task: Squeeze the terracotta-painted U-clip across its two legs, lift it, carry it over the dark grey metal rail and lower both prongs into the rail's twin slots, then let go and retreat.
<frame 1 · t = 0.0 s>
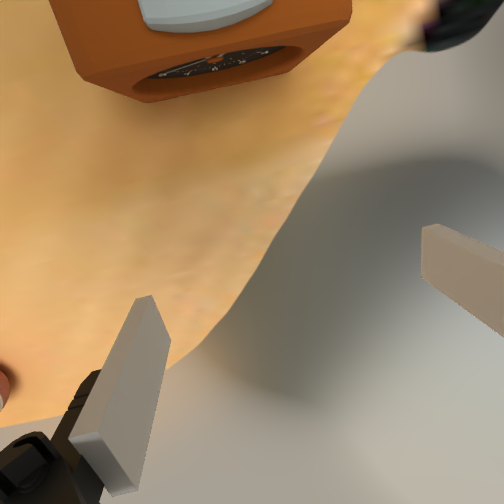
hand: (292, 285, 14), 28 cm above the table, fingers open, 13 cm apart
alarm clock: (208, 46, 33), on the table
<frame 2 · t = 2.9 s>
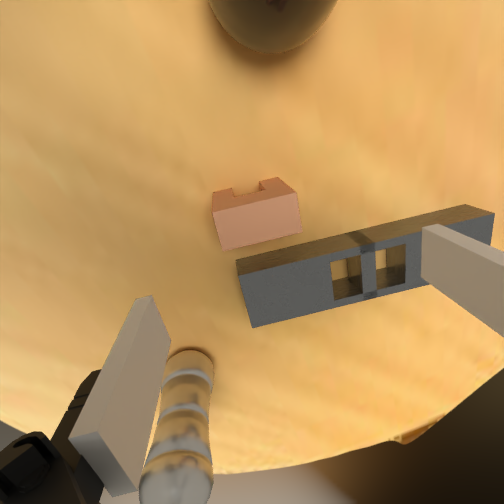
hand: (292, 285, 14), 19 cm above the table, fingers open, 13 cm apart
plastic bottle: (190, 361, 39), on the table
clip: (248, 200, 31), on the table
rail: (353, 258, 35), on the table
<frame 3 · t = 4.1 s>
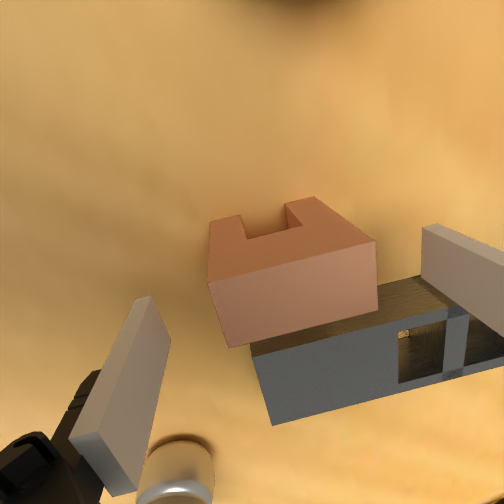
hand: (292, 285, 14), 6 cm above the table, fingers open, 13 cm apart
plastic bottle: (180, 450, 28), on the table
clip: (267, 233, 20), on the table
rail: (419, 311, 24), on the table
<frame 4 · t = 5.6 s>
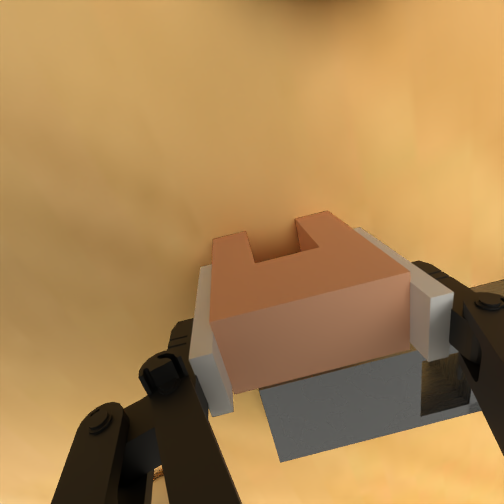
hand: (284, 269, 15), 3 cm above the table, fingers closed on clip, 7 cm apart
plastic bottle: (179, 480, 26), on the table
clip: (275, 251, 18), on the table, touching gripper
rail: (440, 333, 22), on the table
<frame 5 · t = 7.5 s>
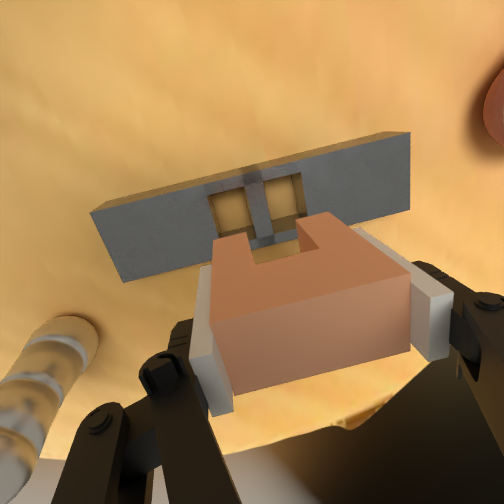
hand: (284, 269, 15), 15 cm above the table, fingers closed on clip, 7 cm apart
plastic bottle: (75, 330, 33), on the table
clip: (276, 252, 18), point 13 cm above the table, touching gripper
rail: (254, 200, 29), on the table
when the fingers open (5 cm above the table, at t = 9.6 s): clip drops 2 cm, resting in rail.
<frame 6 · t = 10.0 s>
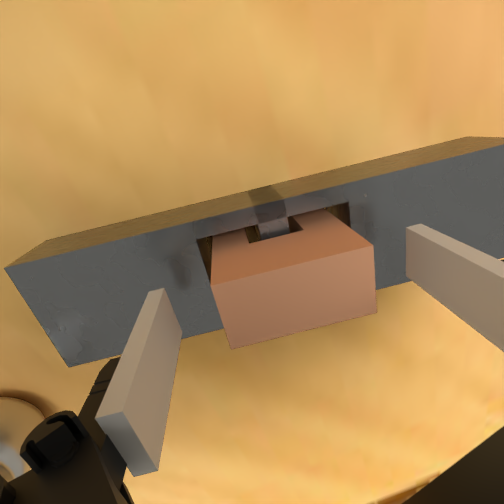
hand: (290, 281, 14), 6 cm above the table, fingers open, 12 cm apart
plastic bottle: (15, 411, 24), on the table
clip: (269, 237, 20), resting in rail
rail: (269, 237, 20), on the table
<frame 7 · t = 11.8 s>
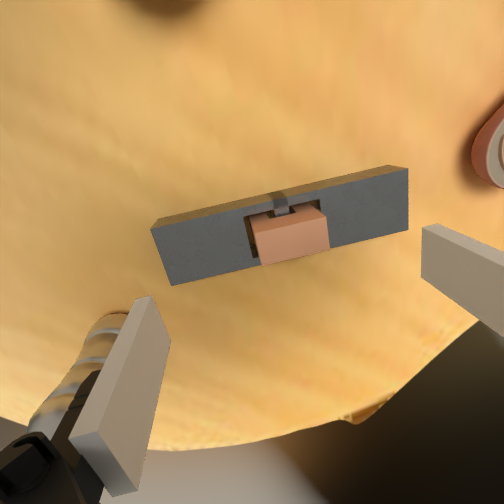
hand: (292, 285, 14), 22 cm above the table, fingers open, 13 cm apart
plastic bottle: (122, 326, 39), on the table
clip: (278, 220, 35), resting in rail
rail: (278, 219, 35), on the table
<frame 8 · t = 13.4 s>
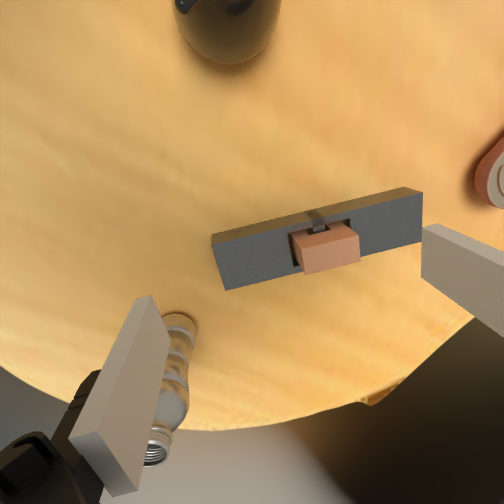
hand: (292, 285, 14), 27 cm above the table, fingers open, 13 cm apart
plastic bottle: (176, 324, 46), on the table
pump dispenser: (224, 18, 31), on the table
clip: (311, 233, 42), resting in rail
rail: (311, 233, 42), on the table
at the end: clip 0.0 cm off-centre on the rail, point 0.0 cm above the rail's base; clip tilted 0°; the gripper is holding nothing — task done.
